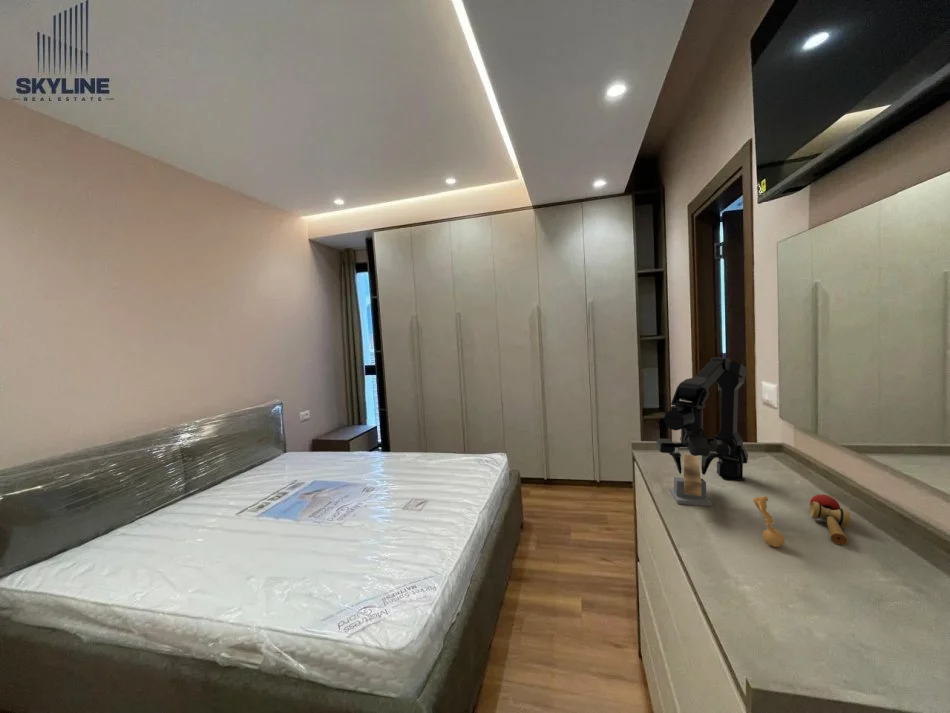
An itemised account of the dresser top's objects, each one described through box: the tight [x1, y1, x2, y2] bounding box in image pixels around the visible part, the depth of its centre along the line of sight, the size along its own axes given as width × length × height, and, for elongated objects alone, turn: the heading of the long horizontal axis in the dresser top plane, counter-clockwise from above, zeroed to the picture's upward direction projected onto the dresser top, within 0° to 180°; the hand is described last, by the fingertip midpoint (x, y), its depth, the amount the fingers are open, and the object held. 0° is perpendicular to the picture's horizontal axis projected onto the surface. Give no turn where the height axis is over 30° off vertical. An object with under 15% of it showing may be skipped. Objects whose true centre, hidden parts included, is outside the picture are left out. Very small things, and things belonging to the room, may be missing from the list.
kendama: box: [809, 494, 851, 546], centre depth 94 cm, size 8×6×18 cm
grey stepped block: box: [669, 476, 712, 507], centre depth 112 cm, size 9×8×6 cm
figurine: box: [752, 495, 785, 548], centre depth 88 cm, size 8×6×12 cm
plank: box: [682, 454, 702, 496], centre depth 111 cm, size 4×22×4 cm, turn 151°
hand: (691, 473), depth 111 cm, fingers open, 6 cm apart
